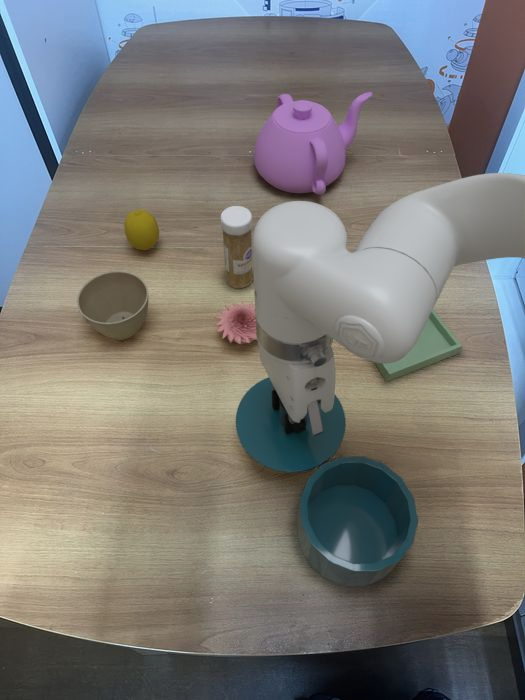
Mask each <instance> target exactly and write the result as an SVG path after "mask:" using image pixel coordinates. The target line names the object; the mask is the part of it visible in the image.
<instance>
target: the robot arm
mask: <svg viewBox="0 0 525 700" xmlns="http://www.w3.org/2000/svg"><path fill="white" fill-rule="evenodd" d="M251 239H252V258H253V265H252V273H253V291H254V292H253V293H254V309H255V316H256V337H257V340H256V341H257V344H258V354H259V358H260V361H261V363H262V366H263V368H264V371H265V373H266V374H267V376H268V377H269V378H270V383H271V386H272V388H273V389H274V390H273V391H272V407H273V409H274V410H275V411H277V410H279V400H281V401H282V403H283V405H284V407H285V409H286V411H287V413H288V414H286V415H285V419H284V431H285V433H286V435H288V434H290V433H293V432H295V433H296V434H297V433H300V432H303V431H304V430H307V431H308V432H309V433H310V435H311V436H312V437H314V436H317V435H319V434H321V433H323V428H322V422H321V417H320V411H319V406H318V404H320V408H321V409H322V410H323V411H324V412H325V413H326V412H328V411H330V410H332V408H333V404H334V397H335V395H336V378H337V377H336V376H337V374H336V373H337V372H336V363H335V362H336V361H335V360H336V359H335V354H334V351H333V348H332V345H333V342H334V341H335V342H336V343H338V344H339V345H341V347H343V348H345V349H346V350H347V351H348V352H350V353H351V354H352V355H355V356H356V357H358V358H361V359H363V360H365V361H368V362H372V363H374V362H376V363H393V362H396V361H399V360H400V359H402V358H403V357H405V356H406V355H407V354H408V353H409V352H410V351H411V350H412V348H413V347H414V345H415V344H416V342H417V340H418V338H419V336H420V334H421V332H422V330H423V328H424V326H425V324H426V322H427V320H428V318H429V316H430V314H431V312H432V310H433V309H434V308H435V306H436V304H437V302H438V299H439V298H440V296H441V294H442V291H443V290H444V287H445V285H446V283H447V281H448V279H449V277H450V276H451V273H452V272H453V269H454V268H455V267H458V266H461V265H467V264H471V263H476V262H483V261H490V260H495V259H505V258H518V259H519V258H521V259H525V174H519V173H518V174H517V173H510V172H491V173H482V174H475V175H471V176H465V177H463V178H458V179H455V180H452V181H447V182H445V183H444V182H443V183H441V184H438V185H434V186H431V187H428V188H425V189H421V190H419V191H416V192H413V193H410V194H408V195H406V196H403V197H401V198H399V199H397V200H396V201H394V202H393V203H390V205H388V206H387V207H385V208H384V209H383V210H382V211H381V212H380V213H379V214H378V215H377V216H376V218H375V219H374V220H373V222H372V223H371V224H370V226H369V227H368V228H367V230H366V232H365V233H364V235H363V236H362V238H361V240H360V241H359V242H358V244H357V245H356V247H355V249H354V250H353V252H351V251H349V250H348V235H347V230H346V227H345V225H344V223H343V221H342V220H341V218H340V217H339V216H338V215H337V214H336V213H335V212H334V211H333V210H331V209H329V208H328V207H327V206H325V205H322V204H320V203H316V202H312V201H306V200H291V201H286V202H282V203H279V204H277V205H275V206H273V207H271V208H269V209H268V210H267V211H266V212H265V213H263V215H261V217H260V218H258V221H257V223H256V225H255V227H254V229H253V233H252V237H251Z"/></svg>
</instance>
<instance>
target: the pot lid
mask: <svg viewBox="0 0 525 700" xmlns="http://www.w3.org/2000/svg"><path fill="white" fill-rule="evenodd" d="M273 390H274V389H273V388H272V386H271V383H270V378H269V376H268V377H266V378H263V379H261V380H260V381H258V382H256V383H255V384H254V385H252V386H251V387H250V388H249V389H248V390H247V391H246V392H245V394H244V395H243V396H242V398H241V400H240V401H239V403H238V407H237V408H236V409H237V410H236V412H235V413H236V414H235V430H236V434H237V435H236V436H237V437H238V441H239V443H240V445H241V446H242V448H243V449H244V451H245V452H246V454H247V455H248V456H249V457H250V458H251V459H253V460H254V461H255V462H256V463H258V464H259V465H261V466H262V467H264V468H267V469H269V470H271V471H275V472H280V473H285V474H286V473H287V474H297V473H304V472H308V471H311V470H315V469H318V468H319V467H320V466H321V465H323V464H325V463H327V462H329V460H330V459H331V458H332V457H334V455H335V454H336V453H337V452H338V450H339V449H340V447H341V445H342V443H343V440H344V437H345V434H346V428H347V427H346V425H347V424H346V423H347V422H346V414H345V411H344V407H343V405H342V403H341V401H340V399H339V397H338V396H337V395H336V394H335V397H334V404H333V408H332V410H330V411H328V412H326V413H325V412H324V411H323V410H322V409H321V408H320V404H318V406H319V411H320V417H321V422H322V428H323V433H321V434H319V435H317V436H314V437H312V436H311V435H310V433H309V432H308V431H307V430H304V431H303V432H300V433H297V434H296V433H295V432H293V433H290V434H288V435H286V433H285V431H284V419H285V415H286V414H288V413H287V411H286V409H285V407H284V405H283V403H282V401H281V400H279V410H277V411H275V410H274V409H273V407H272V391H273Z"/></svg>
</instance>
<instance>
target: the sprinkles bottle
mask: <svg viewBox="0 0 525 700" xmlns="http://www.w3.org/2000/svg"><path fill="white" fill-rule="evenodd" d="M220 228H221V230H222V231H221V232H222V244H223V245H222V247H223V257H224V268H225V281H226V283H227V284H228V285H229V286H230V287H232V288H234V289H244V288H247V287H249V286H250V285H251V284H252V283H253V282H254V274H253V252H252V228H253V214H252V212H251V210H249V208H246V207H244V206H241V205H232V206H229V207H227V208H225V209H224V210H223V211H222V212H221V214H220Z"/></svg>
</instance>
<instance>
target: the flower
mask: <svg viewBox="0 0 525 700" xmlns="http://www.w3.org/2000/svg"><path fill="white" fill-rule="evenodd" d="M232 305H233V306H228V305H224V307H225V308H226V309H227V310H218V313H220V314H222V315H221V316H216V317H214V320H215V319H216V320H219V321H218V322H217V323H215V324H213V326H214V327H218V326H219V328H218V330H217V331H216V334H219V333H221V332H222V337H221V339H225V338H227V339H228V341H229V343H230V344H231V343H232V342H235V343H236V344H239V345H244V344H250V343H252V342H253V341H257V337H256V316H255V306H254V305H253V302H250V303H249V304H248V305H247V304H246V303H245V302H244V301H243V300H242V301H241V305H239V304H238V303H236V302H235V301H233V302H232Z"/></svg>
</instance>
